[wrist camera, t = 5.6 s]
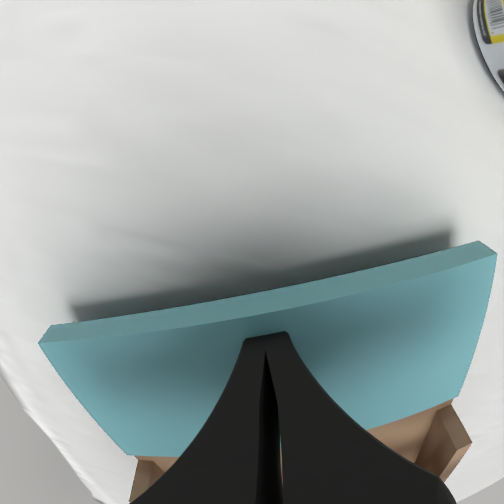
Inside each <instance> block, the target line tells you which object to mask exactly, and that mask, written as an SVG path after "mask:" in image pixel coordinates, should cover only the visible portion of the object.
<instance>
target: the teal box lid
mask: <svg viewBox="0 0 504 504" xmlns="http://www.w3.org/2000/svg"><path fill="white" fill-rule="evenodd" d="M496 260H497V253H496V252H495V251H493V250H492V249H490V248H489V247H487V246H486V245H485V244H483V243H482V242H480V241H476V242H472V243H468V244H465V245H461V246H457V247H454V248H450V249H446V250H442V251H438V252H435V253H431V254H427V255H423V256H419V257H415V258H411V259H407V260H403V261H399V262H395V263H391V264H387V265H382V266H378V267H374V268H370V269H366V270H361V271H357V272H352V273H348V274H344V275H339V276H335V277H330V278H326V279H321V280H316V281H312V282H307V283H302V284H297V285H293V286H288V287H283V288H278V289H273V290H268V291H263V292H258V293H253V294H247V295H242V296H237V297H232V298H226V299H221V300H215V301H210V302H204V303H198V304H193V305H187V306H181V307H175V308H169V309H163V310H157V311H150V312H144V313H138V314H131V315H124V316H118V317H111V318H104V319H97V320H89V321H82V322H74V323H66V324H58V325H51V326H50V327H49V329H48V330H47V331H46V333H45V334H44V335H43V337H42V338H41V340H40V341H39V342H38V344H39V346H40V347H41V349H42V350H43V352H44V354H45V355H46V357H47V358H48V360H49V361H50V363H51V364H52V365H53V367H54V368H55V370H56V371H57V373H58V374H59V375H60V377H61V378H62V380H63V381H64V382H65V384H66V385H67V386H68V388H69V389H70V390H71V392H72V393H73V394H74V396H75V397H76V398H77V399H78V401H79V402H80V403H81V404H82V406H83V407H84V408H85V409H86V410H87V412H88V413H89V414H90V415H91V416H92V418H93V419H94V420H95V421H96V422H97V423H98V425H99V426H100V427H101V428H102V429H103V430H104V431H105V432H106V433H107V435H108V436H109V437H110V438H111V439H112V440H113V441H114V442H115V443H116V444H117V445H118V446H119V447H120V448H121V449H122V450H123V451H124V452H125V453H126V454H127V455H135V456H156V457H180V456H181V454H182V453H183V452H184V451H185V449H186V448H187V447H188V446H189V444H190V443H191V442H192V441H193V439H194V438H195V437H196V435H197V434H198V432H199V431H200V429H201V428H202V427H203V425H204V424H205V422H206V420H207V419H208V417H209V416H210V414H211V412H212V411H213V409H214V407H215V405H216V403H217V402H218V400H219V398H220V396H221V394H222V392H223V390H224V388H225V386H226V384H227V382H228V380H229V378H230V375H231V373H232V371H233V369H234V366H235V364H236V361H237V358H238V356H239V353H240V350H241V347H242V343H243V341H244V340H245V339H246V338H250V337H256V336H262V335H267V334H272V333H277V332H282V331H285V332H287V333H289V336H290V339H291V341H292V343H293V345H294V347H295V349H296V351H297V353H298V354H299V356H300V358H301V359H302V361H303V362H304V364H305V365H306V367H307V368H308V369H309V371H310V372H311V374H312V375H313V376H314V378H315V379H316V380H317V381H318V383H319V384H320V385H321V386H322V388H323V389H324V390H325V391H326V392H327V393H328V395H329V396H330V397H331V398H332V399H333V400H334V401H335V402H336V403H337V404H338V405H339V406H340V407H341V408H342V409H343V410H344V411H345V412H346V413H347V414H348V415H349V416H350V417H351V418H352V419H353V420H354V421H356V422H357V423H358V424H359V425H360V426H361V427H362V428H364V429H365V430H368V429H372V428H375V427H378V426H381V425H385V424H388V423H391V422H394V421H397V420H400V419H403V418H405V417H408V416H411V415H414V414H416V413H419V412H422V411H424V410H427V409H429V408H432V407H434V406H437V405H439V404H441V403H444V402H446V401H448V400H451V399H453V398H455V397H457V396H458V395H459V393H460V390H461V388H462V385H463V383H464V380H465V378H466V375H467V372H468V369H469V367H470V364H471V361H472V358H473V355H474V352H475V349H476V346H477V342H478V339H479V336H480V332H481V329H482V325H483V322H484V318H485V314H486V310H487V306H488V301H489V297H490V292H491V288H492V283H493V277H494V272H495V266H496ZM280 449H281V439H280Z"/></svg>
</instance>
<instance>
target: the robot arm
mask: <svg viewBox="0 0 504 504" xmlns="http://www.w3.org/2000/svg"><path fill="white" fill-rule="evenodd" d="M280 439H281V454H280ZM281 455H282V475H283V484H282V476H281ZM130 504H456V501H455V499H454V497H453V496H452V494H451V492H450V491H449V489H448V488H447V486H446V485H445V484H444V482H443V481H442V480H441V478H440V477H439V476H437V475H435V474H433V473H431V472H429V471H427V470H425V469H423V468H421V467H420V466H418V465H416V464H414V463H413V462H411V461H409V460H407V459H406V458H404V457H403V456H401V455H399V454H398V453H396V452H395V451H393V450H392V449H390V448H389V447H387V446H386V445H385V444H383V443H382V442H381V441H379V440H378V439H377V438H375V437H374V436H373V435H371V434H370V433H369V432H367V431H366V430H365V429H364V428H362V427H361V426H360V425H359V424H358V423H357V422H356V421H354V420H353V419H352V418H351V417H350V416H349V415H348V414H347V413H346V412H345V411H344V410H343V409H342V408H341V407H340V406H339V405H338V404H337V403H336V402H335V401H334V400H333V399H332V398H331V397H330V396H329V395H328V393H327V392H326V391H325V390H324V389H323V388H322V386H321V385H320V384H319V383H318V381H317V380H316V379H315V378H314V376H313V375H312V374H311V372H310V371H309V369H308V368H307V367H306V365H305V364H304V362H303V361H302V359H301V358H300V356H299V354H298V353H297V351H296V349H295V347H294V345H293V343H292V341H291V339H290V336H289V333H287V332H285V331H282V332H277V333H272V334H267V335H262V336H256V337H250V338H246V339H245V340H244V341H243V343H242V347H241V350H240V353H239V356H238V358H237V361H236V364H235V366H234V369H233V371H232V373H231V375H230V378H229V380H228V382H227V384H226V386H225V388H224V390H223V392H222V394H221V396H220V398H219V400H218V402H217V403H216V405H215V407H214V409H213V411H212V412H211V414H210V416H209V417H208V419H207V420H206V422H205V424H204V425H203V427H202V428H201V429H200V431H199V432H198V434H197V435H196V437H195V438H194V439H193V441H192V442H191V443H190V444H189V446H188V447H187V448H186V449H185V451H184V452H183V453H182V454H181V456H180V457H179V458H178V459H177V460H176V461H175V463H174V464H173V465H172V466H171V467H170V468H169V469H168V470H167V471H166V472H165V473H164V474H163V475H162V476H161V477H160V478H159V479H158V480H157V481H156V482H155V483H154V484H153V485H152V486H151V487H149V488H148V489H147V490H146V491H145V492H144V493H142V494H141V495H140V496H139V497H137V498H136V499H135V500H133V501H132V502H131V503H130Z"/></svg>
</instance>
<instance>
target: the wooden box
mask: <svg viewBox="0 0 504 504" xmlns="http://www.w3.org/2000/svg"><path fill="white" fill-rule="evenodd" d="M452 400H453V399H451V400H448V401H446V402H444V403H441V404H439V405H437V406H434V407H432V408H429V409H427V410H424V411H422V412H419V413H416V414H414V415H411V416H408V417H405V418H403V419H400V420H397V421H394V422H391V423H388V424H385V425H381V426H378V427H375V428H372V429H368V430H366V431H367V432H369V433H370V434H371V435H373V436H374V437H375V438H377V439H378V440H379V441H381V442H382V443H383V444H385V445H386V446H387V447H389V448H390V449H392V450H393V451H395V452H396V453H398V454H399V455H401V456H403V457H404V458H406V459H407V460H409V461H411V462H413V463H414V464H416V465H418V466H420V467H421V468H423V469H425V470H427V471H429V472H431V473H433V474H435V475H437V476H439V477H440V478H441V480H442V481H443V482H445V481H446V479H447V478H448V477H449V475H450V474H451V473H452V471H453V470H454V469H455V467H456V466H457V464H458V463H459V462H460V460H461V459H462V457H463V456H464V454H465V453H466V451H467V450H468V448H469V447H470V445H471V444H472V441H471V439H470V437H469V436H468V434H467V432H466V430H465V428H464V426H463V425H462V423H461V421H460V419H459V417H458V416H457V414H456V412H455V410H454V409H453V407H452V405H451V403H452ZM280 454H281V449H280ZM134 456H135V455H134ZM135 457H136V458H137V459H138V464H137V468H136V473H135V477H134V481H133V486H132V490H131V495H130V499H129V502H130V503H131V502H132V501H133V500H135V499H136V498H137V497H139V496H140V495H141V494H142V493H144V492H145V491H146V490H147V489H148V488H149V487H151V486H152V485H153V484H154V483H155V482H156V481H157V480H158V479H159V478H160V477H161V476H162V475H163V474H164V473H165V472H166V471H167V470H168V469H169V468H170V467H171V466H172V465H173V464H174V463H175V461H176V460H177V459H178V458H179V457H156V456H135ZM281 476H282V484H283V475H282V455H281Z"/></svg>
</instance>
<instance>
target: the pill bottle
mask: <svg viewBox="0 0 504 504" xmlns="http://www.w3.org/2000/svg"><path fill="white" fill-rule="evenodd" d="M473 23H474V29H475V33H476V37H477V40H478V44H479V46H480V49H481V52H482V54H483V57H484V59H485V61H486V63H487V65H488V67H489V69H490V71H491V73H492V75H493V76H494V78H495V80H496V81H497V83H498V84H499V86H500V87H501V88H502V90H503V91H504V0H474V4H473Z"/></svg>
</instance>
